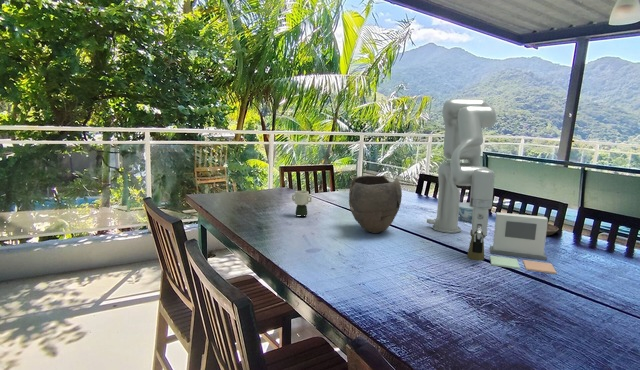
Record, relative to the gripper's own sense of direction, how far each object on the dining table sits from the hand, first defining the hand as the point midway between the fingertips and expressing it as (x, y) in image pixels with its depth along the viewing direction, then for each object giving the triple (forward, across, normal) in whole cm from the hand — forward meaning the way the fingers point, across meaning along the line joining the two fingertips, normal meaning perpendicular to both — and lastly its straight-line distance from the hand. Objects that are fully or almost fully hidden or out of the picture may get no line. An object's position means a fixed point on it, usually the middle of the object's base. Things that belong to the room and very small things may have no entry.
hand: (476, 248), depth 142 cm
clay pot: (+4, +17, +43) cm, 46 cm away
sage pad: (+4, -1, -10) cm, 10 cm away
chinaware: (+4, +61, +2) cm, 61 cm away
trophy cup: (+4, +29, +83) cm, 88 cm away
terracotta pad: (+4, -1, -20) cm, 21 cm away
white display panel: (+4, +11, -15) cm, 19 cm away
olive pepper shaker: (+4, 0, 0) cm, 4 cm away
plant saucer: (+4, +52, -26) cm, 58 cm away
